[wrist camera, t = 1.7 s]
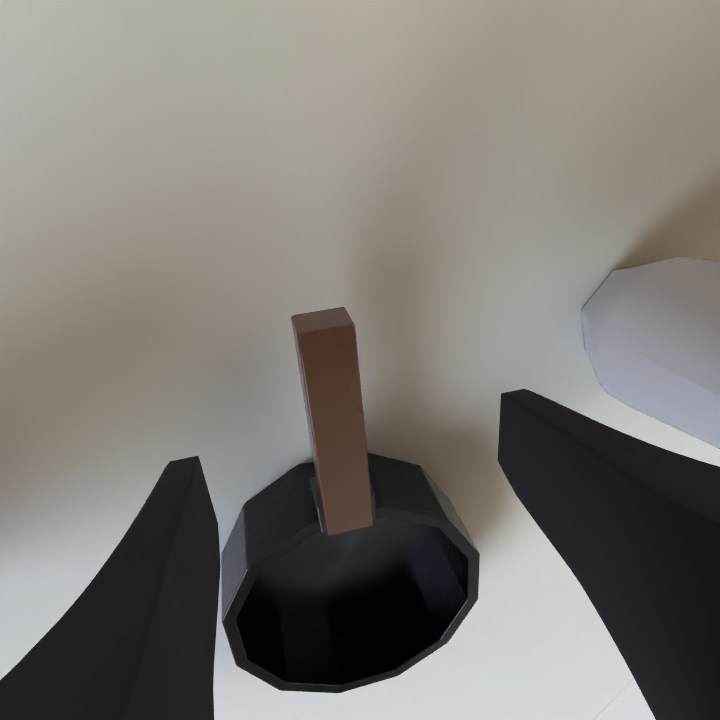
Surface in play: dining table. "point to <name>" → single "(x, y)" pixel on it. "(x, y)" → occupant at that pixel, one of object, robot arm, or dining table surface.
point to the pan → (343, 546)
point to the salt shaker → (660, 342)
